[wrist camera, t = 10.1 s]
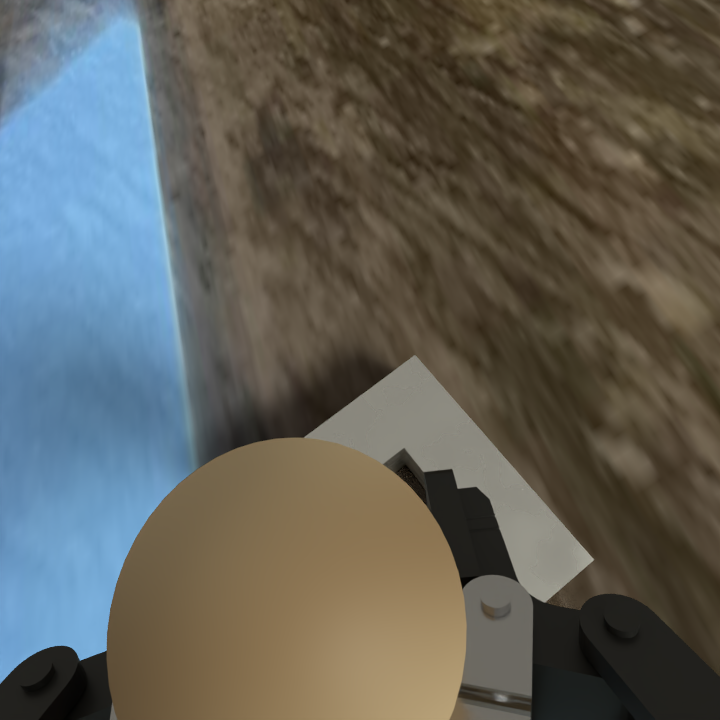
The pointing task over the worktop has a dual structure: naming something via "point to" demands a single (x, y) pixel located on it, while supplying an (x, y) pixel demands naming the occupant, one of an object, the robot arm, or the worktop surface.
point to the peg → (288, 595)
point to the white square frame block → (458, 468)
